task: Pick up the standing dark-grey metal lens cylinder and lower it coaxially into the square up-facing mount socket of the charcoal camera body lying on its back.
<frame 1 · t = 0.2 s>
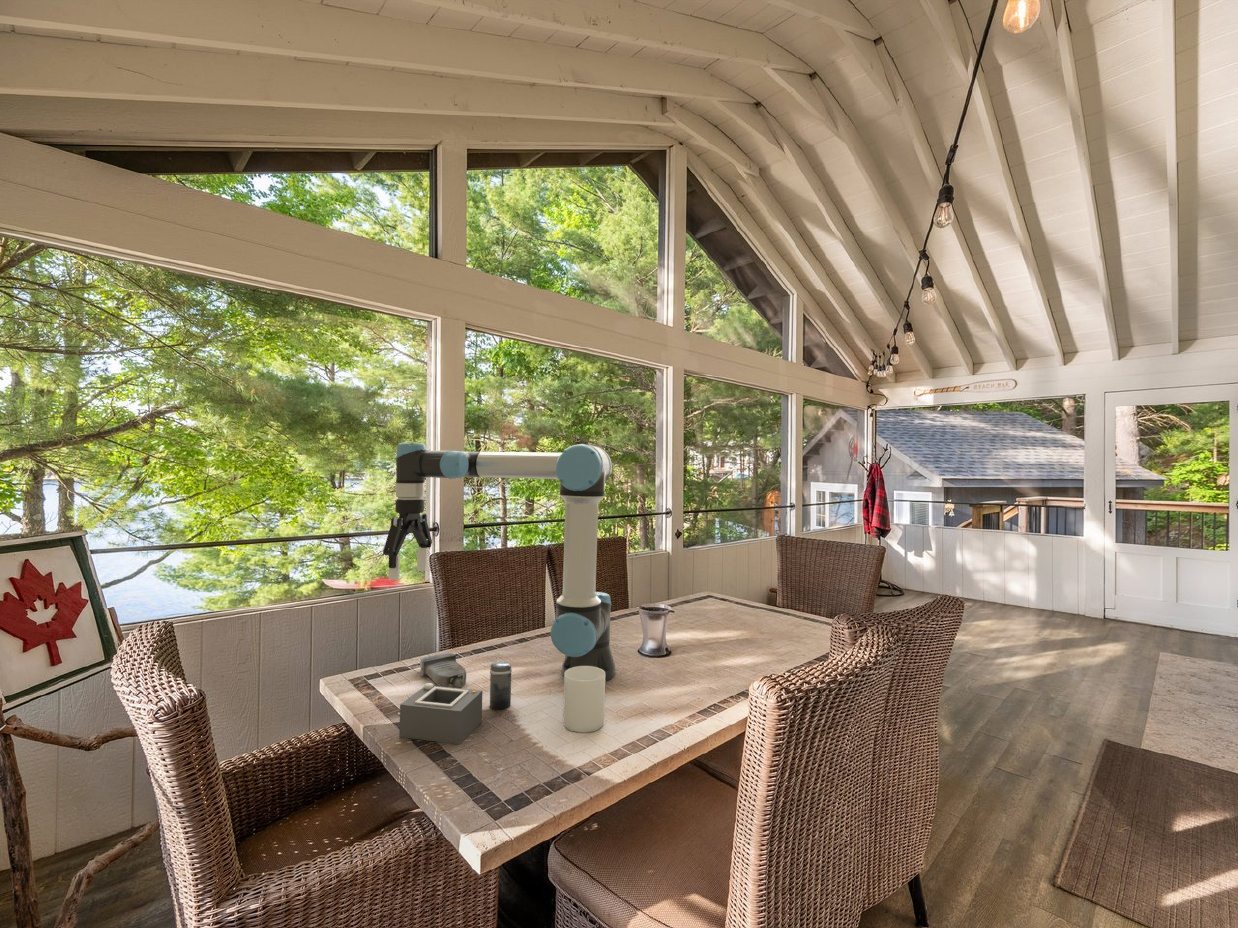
hand: (408, 575, 156), 28 cm above the table, fingers open, 13 cm apart
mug: (579, 723, 130), on the table
handheld device: (446, 679, 154), on the table
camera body: (441, 728, 126), on the table
lens: (500, 705, 138), on the table
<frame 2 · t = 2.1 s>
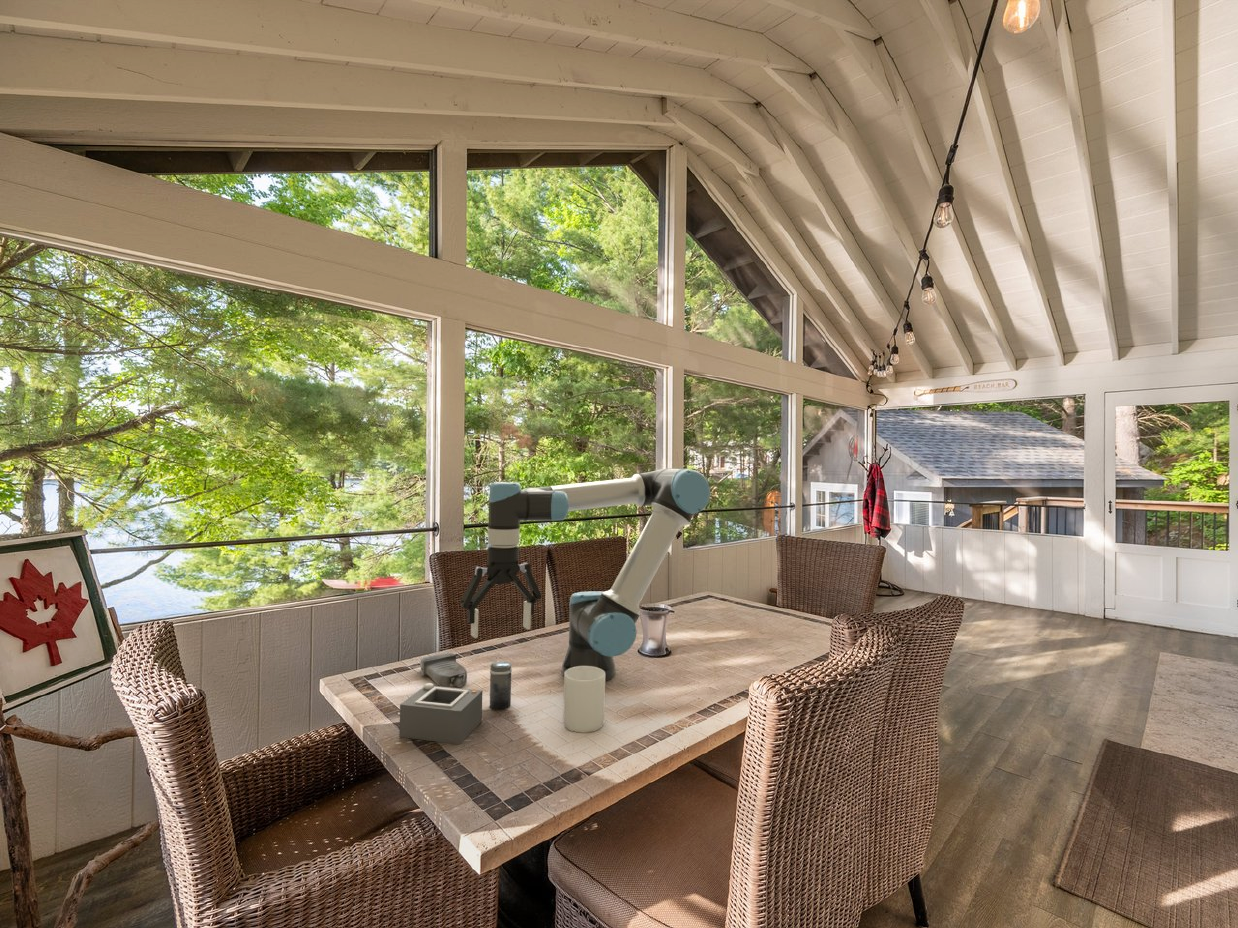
hand: (501, 632, 138), 18 cm above the table, fingers open, 13 cm apart
nothing on the table moved.
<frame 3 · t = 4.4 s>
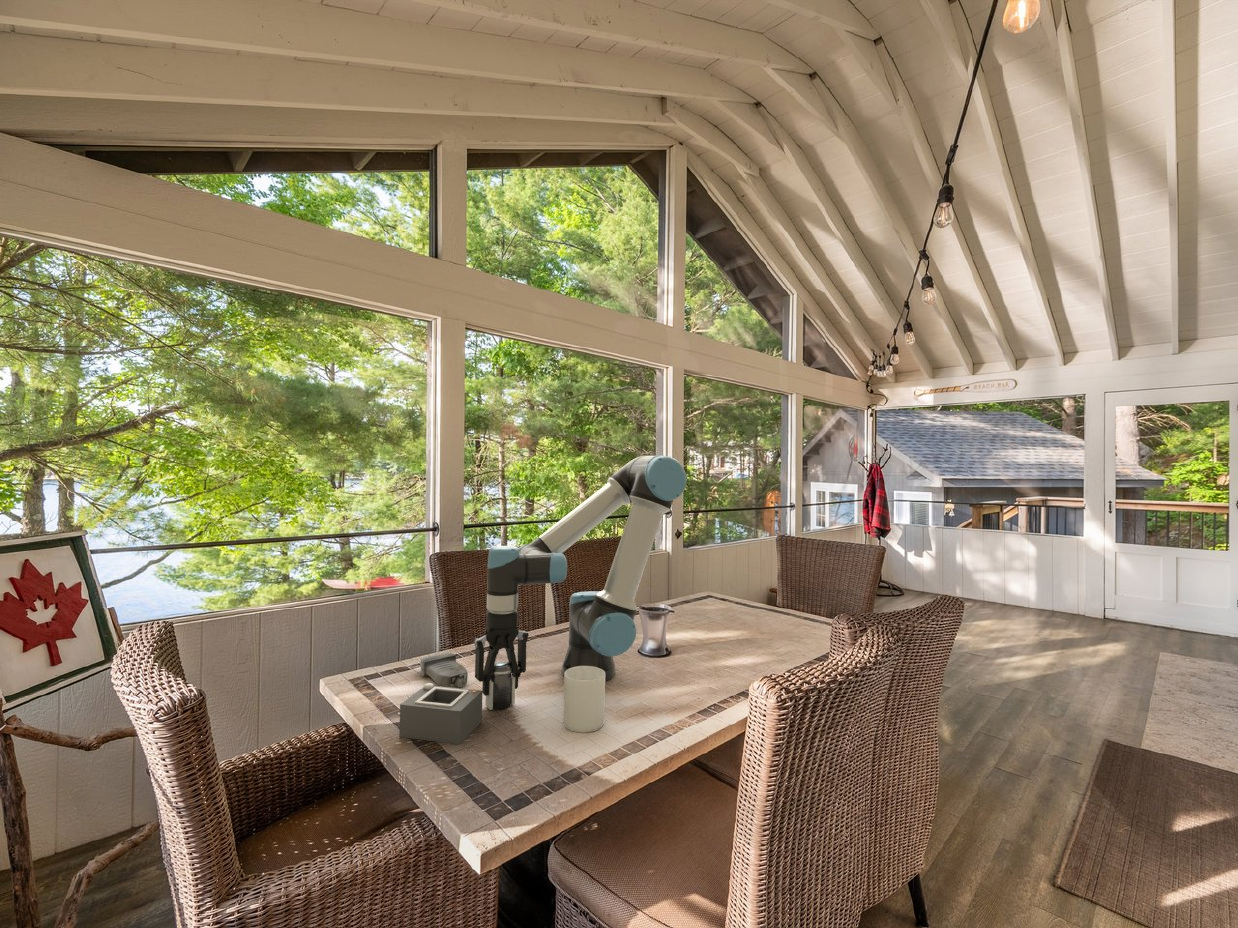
hand: (500, 704, 138), 0 cm above the table, fingers closed on lens, 5 cm apart
lens: (500, 705, 138), on the table, touching gripper
everything else where it was.
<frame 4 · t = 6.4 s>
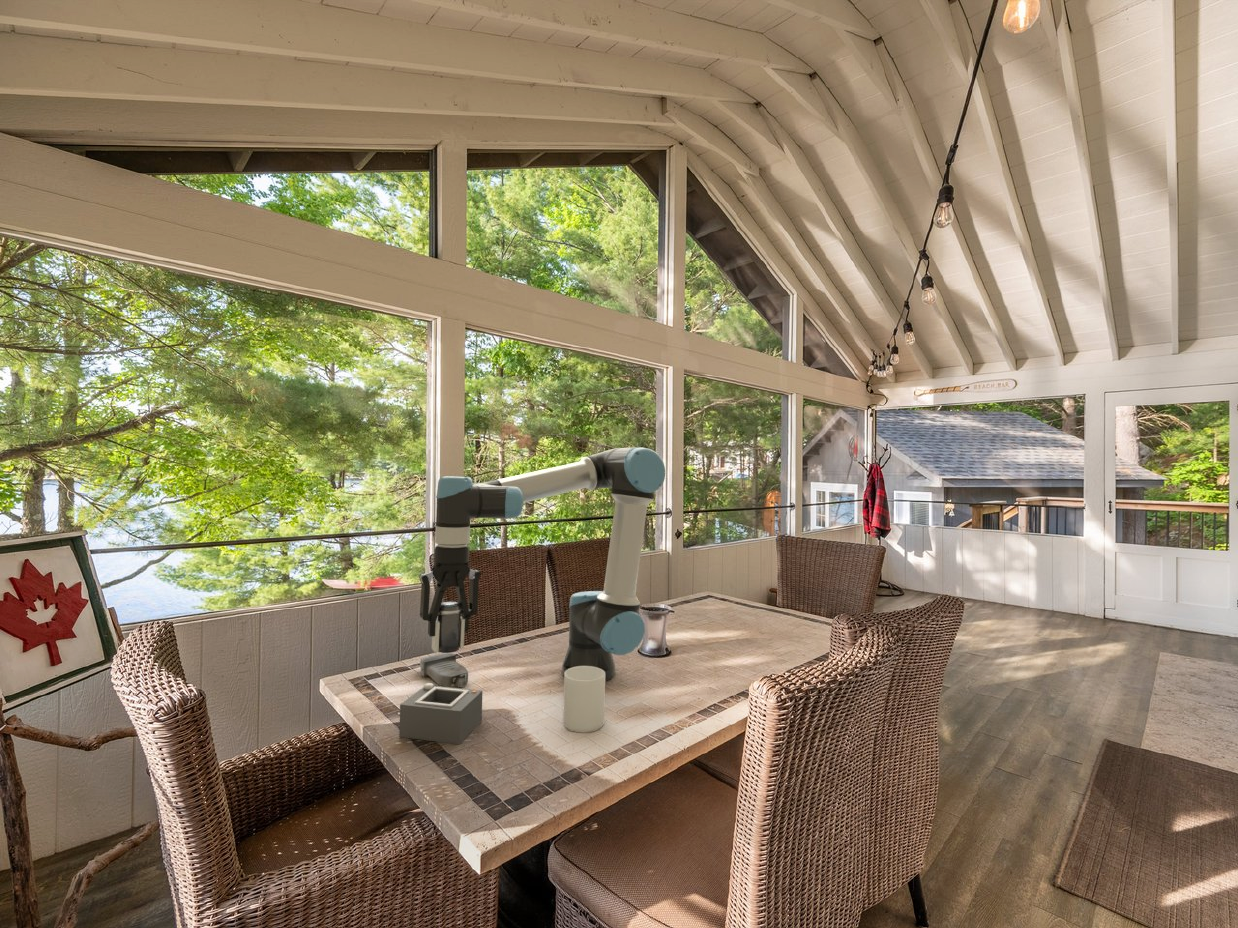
hand: (447, 648, 127), 18 cm above the table, fingers closed on lens, 5 cm apart
lens: (447, 649, 127), point 17 cm above the table, touching gripper
everything else where it was.
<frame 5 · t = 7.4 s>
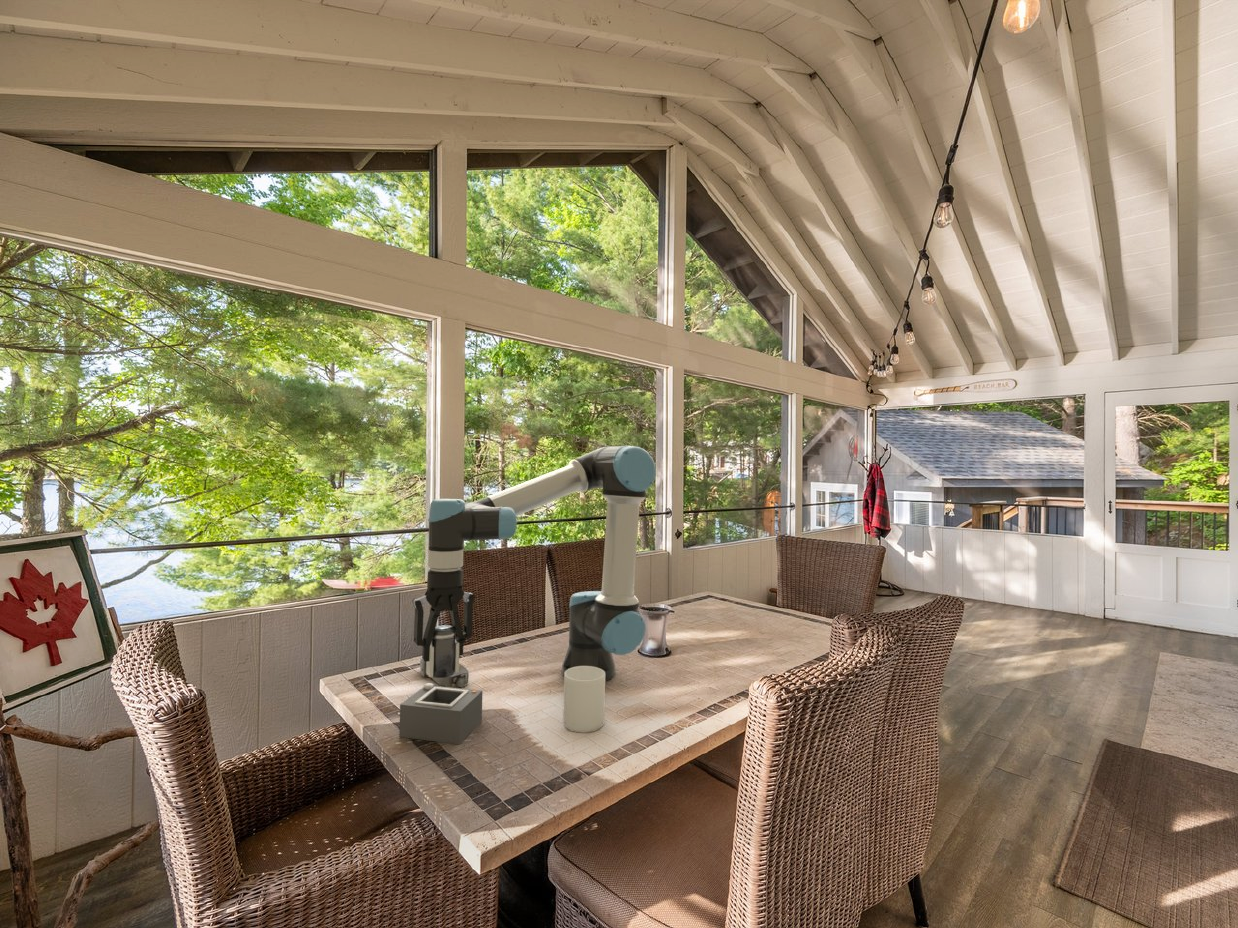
hand: (442, 672, 125), 13 cm above the table, fingers closed on lens, 5 cm apart
lens: (442, 673, 125), point 12 cm above the table, touching gripper
everything else where it was.
when the fingers open (8 cm above the table, at t = 8.4 s): lens drops 3 cm, resting on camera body.
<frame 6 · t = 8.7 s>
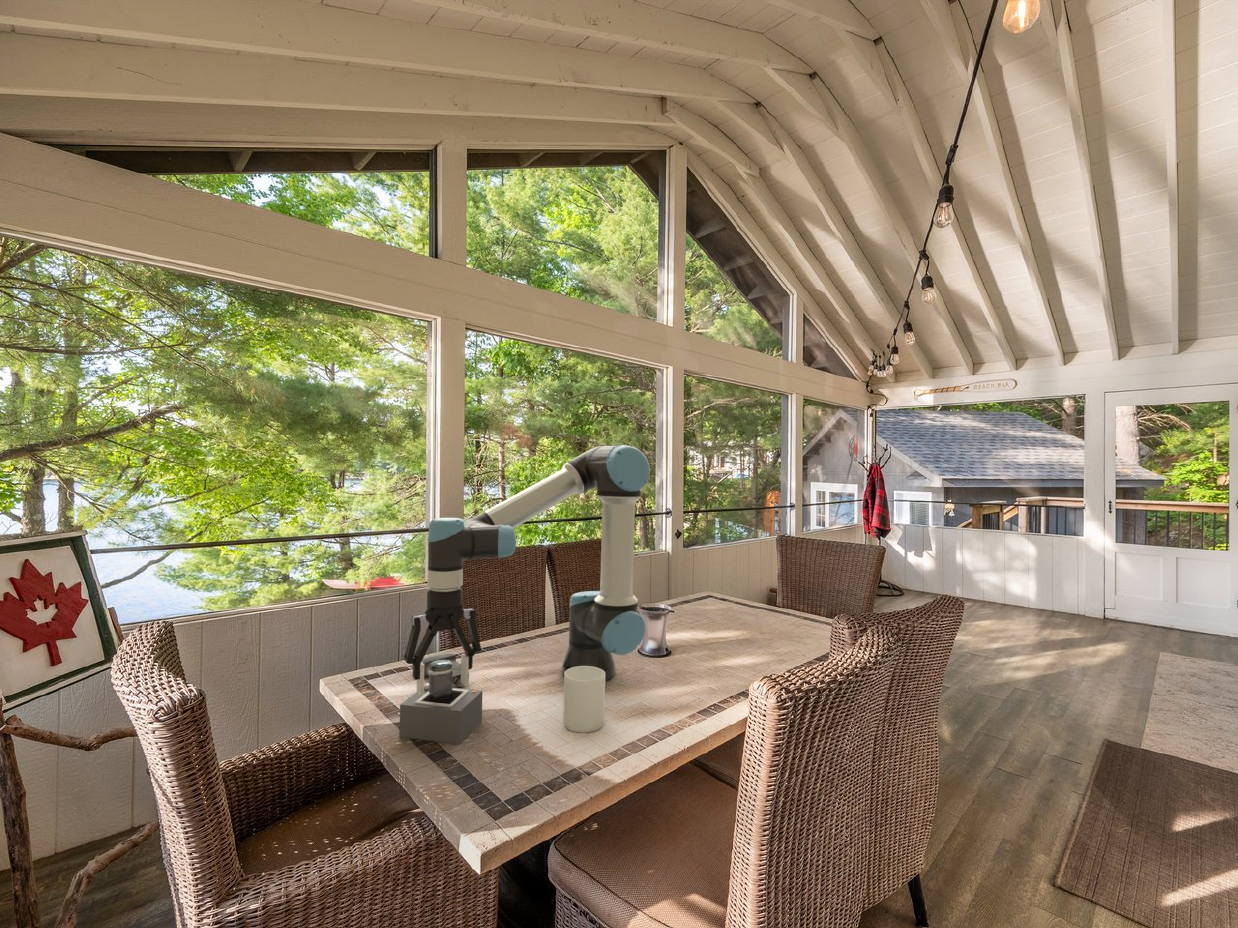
hand: (442, 688, 126), 9 cm above the table, fingers open, 9 cm apart
lens: (440, 708, 125), point 5 cm above the table, touching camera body
everything else where it was.
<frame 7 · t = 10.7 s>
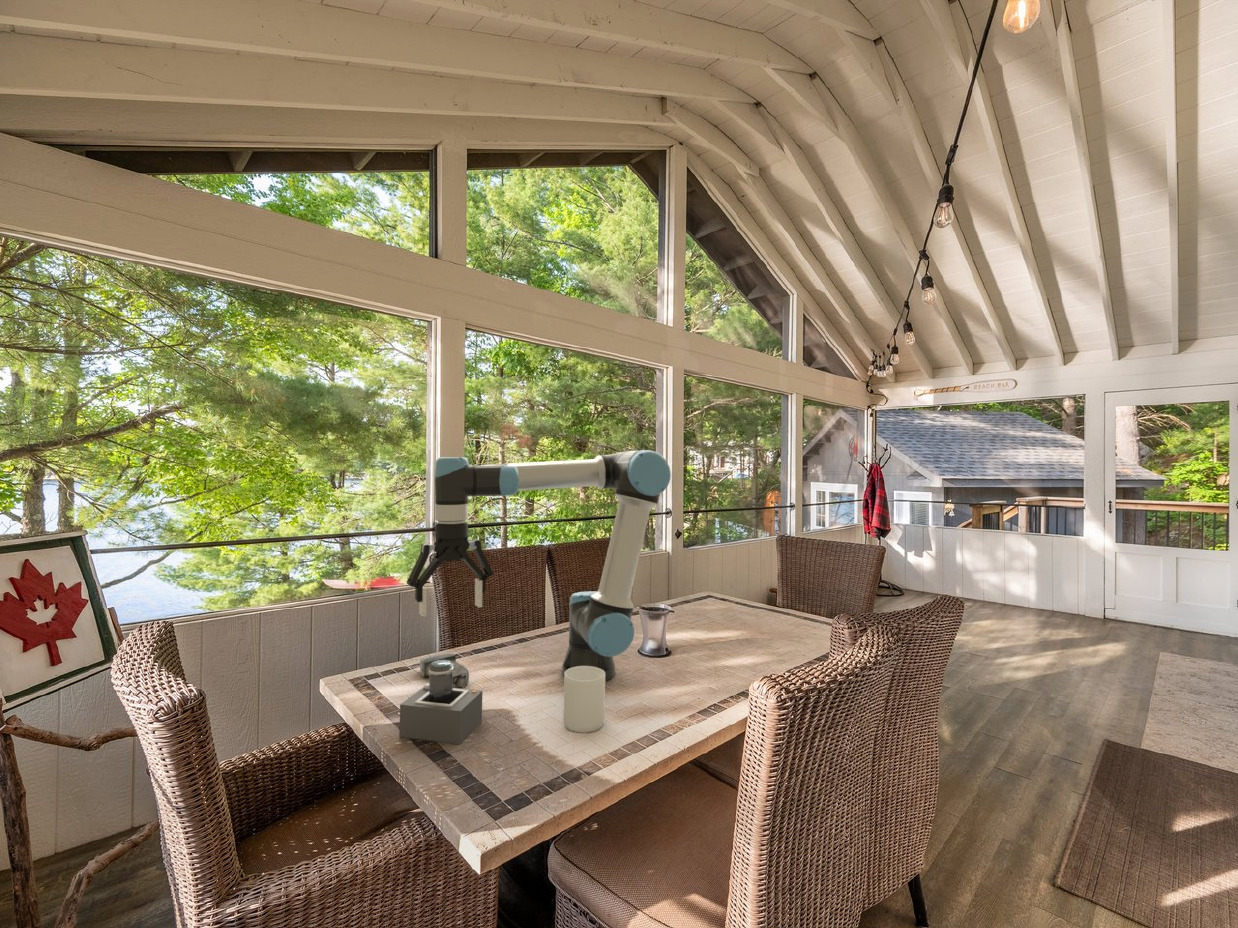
hand: (451, 610, 134), 24 cm above the table, fingers open, 13 cm apart
nothing on the table moved.
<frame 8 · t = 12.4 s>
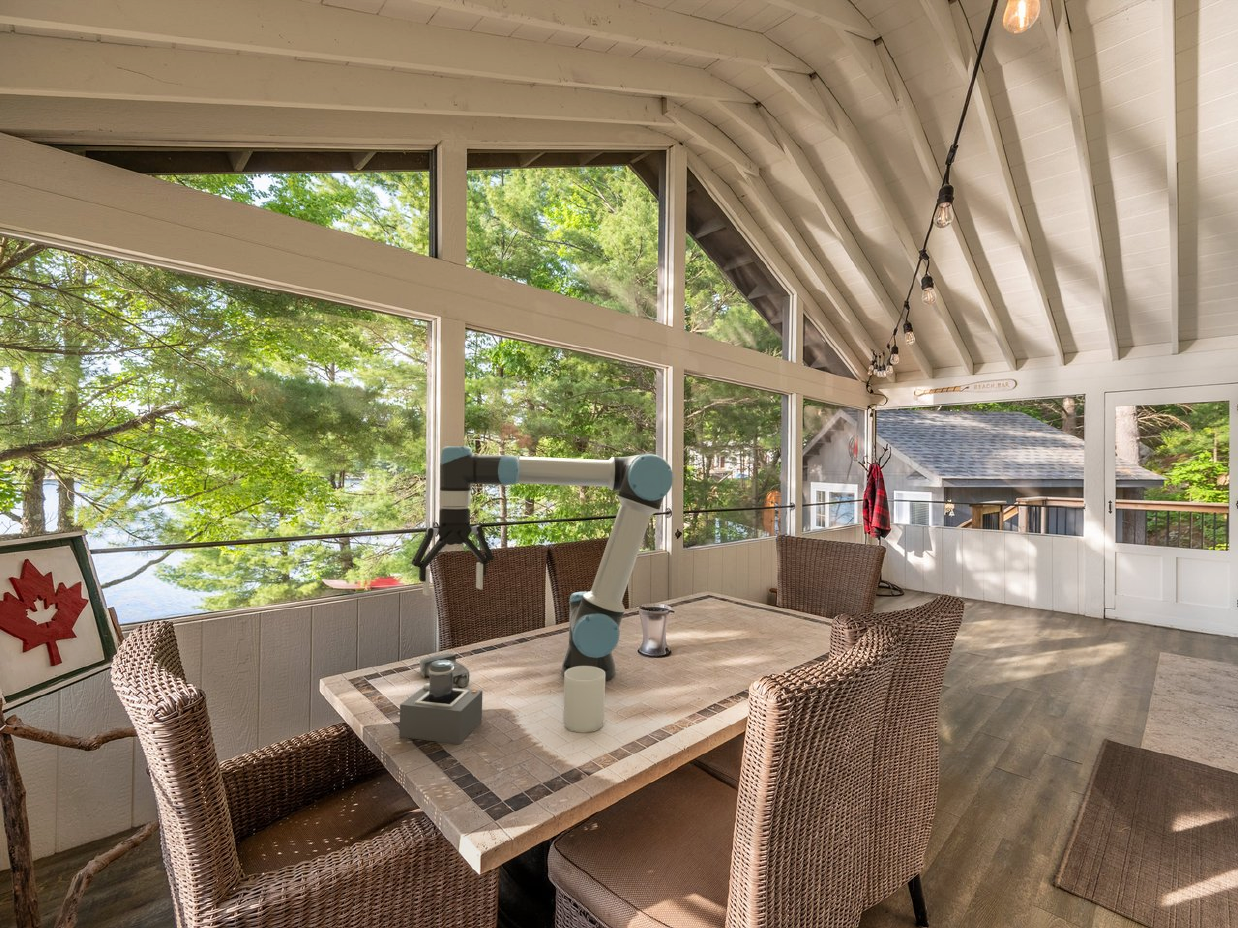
hand: (453, 591, 142), 27 cm above the table, fingers open, 13 cm apart
nothing on the table moved.
at the end: lens 0.4 cm off-centre on the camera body, point 4.6 cm above the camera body's base; lens tilted 1°; the gripper is holding nothing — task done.
